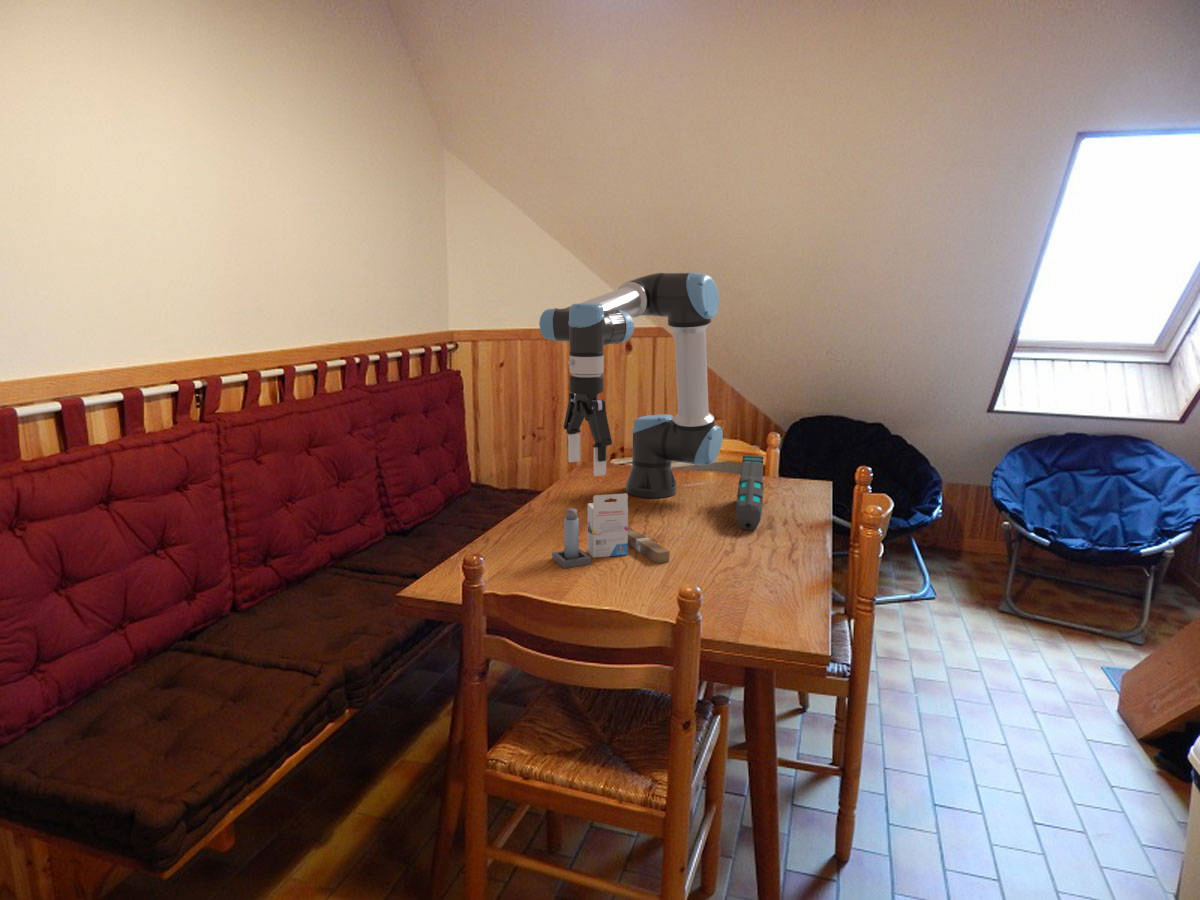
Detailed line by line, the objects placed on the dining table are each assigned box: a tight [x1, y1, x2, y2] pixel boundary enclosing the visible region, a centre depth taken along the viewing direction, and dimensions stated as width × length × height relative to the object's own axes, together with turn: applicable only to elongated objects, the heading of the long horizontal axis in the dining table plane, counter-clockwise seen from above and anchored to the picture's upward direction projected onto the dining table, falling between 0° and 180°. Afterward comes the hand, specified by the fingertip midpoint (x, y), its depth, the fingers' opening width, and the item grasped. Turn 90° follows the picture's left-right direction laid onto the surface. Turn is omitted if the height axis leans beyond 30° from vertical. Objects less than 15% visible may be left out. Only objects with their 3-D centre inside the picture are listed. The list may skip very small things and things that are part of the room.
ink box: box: [586, 492, 629, 559], centre depth 176 cm, size 8×5×15 cm, turn 105°
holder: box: [551, 548, 592, 569], centre depth 172 cm, size 7×7×2 cm
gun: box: [735, 454, 765, 531], centre depth 209 cm, size 7×29×15 cm, turn 167°
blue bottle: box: [563, 508, 580, 560], centre depth 171 cm, size 3×3×12 cm
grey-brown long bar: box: [627, 526, 670, 565], centre depth 182 cm, size 24×3×3 cm, turn 26°
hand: (586, 468), depth 174 cm, fingers open, 13 cm apart
